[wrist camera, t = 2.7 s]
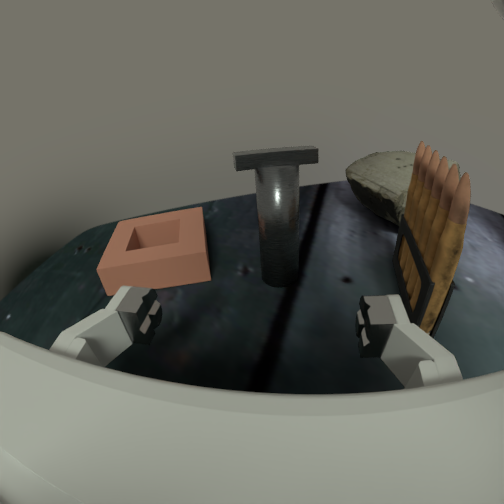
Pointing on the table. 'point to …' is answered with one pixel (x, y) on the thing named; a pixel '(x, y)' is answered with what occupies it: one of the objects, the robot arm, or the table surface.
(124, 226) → the orange square frame
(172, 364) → the table surface
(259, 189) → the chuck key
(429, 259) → the ammunition clip
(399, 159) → the concrete fragment
